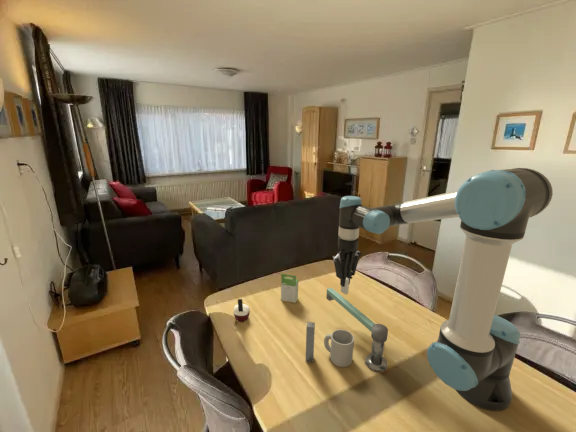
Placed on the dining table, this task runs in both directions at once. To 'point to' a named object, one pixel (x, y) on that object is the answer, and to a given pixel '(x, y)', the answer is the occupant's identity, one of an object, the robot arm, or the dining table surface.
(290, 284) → the ink box
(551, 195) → the robot arm
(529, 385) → the dining table surface
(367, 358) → the grey flanged post
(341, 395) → the dining table surface
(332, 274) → the dining table surface
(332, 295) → the bar
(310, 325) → the post
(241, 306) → the cocoa
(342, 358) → the cup
